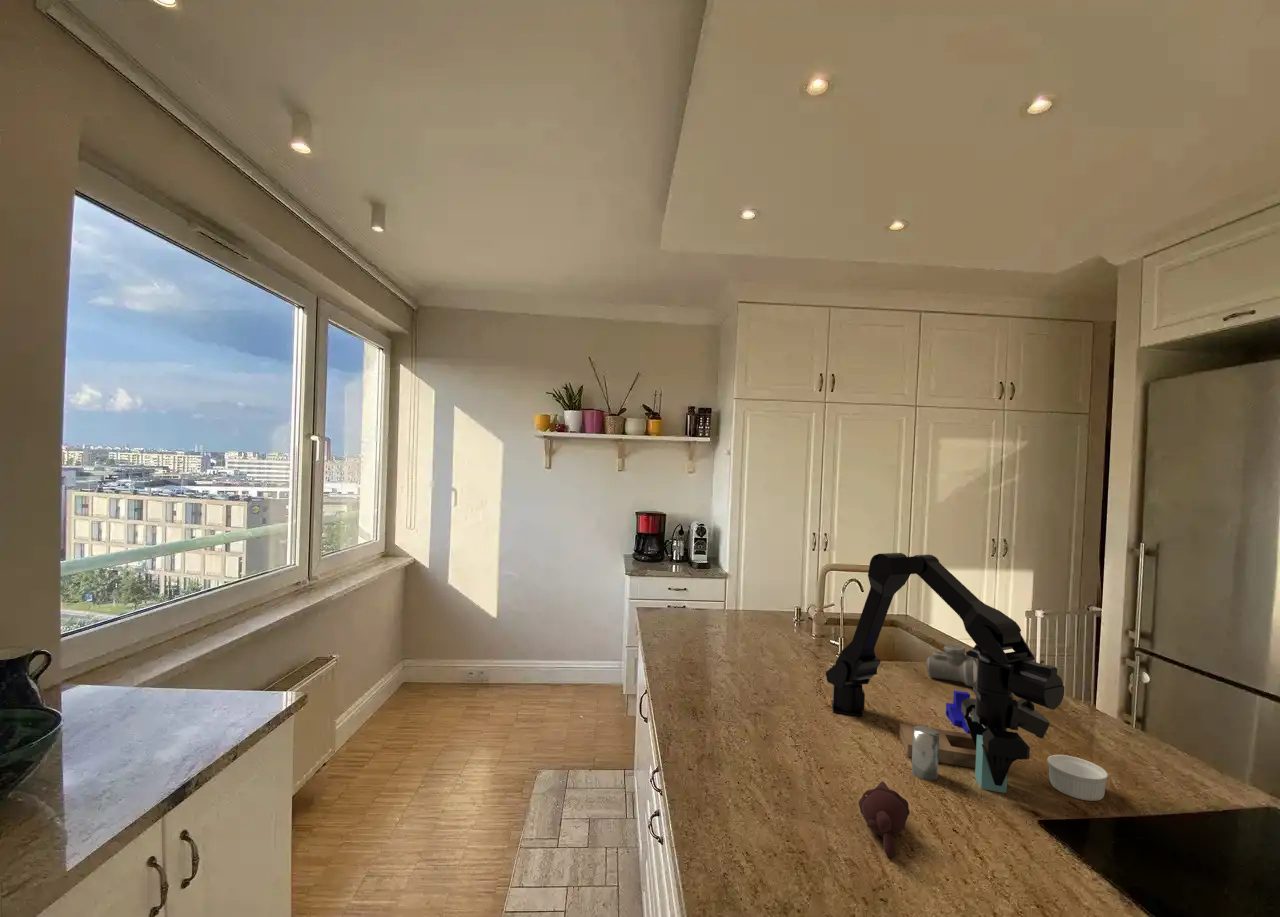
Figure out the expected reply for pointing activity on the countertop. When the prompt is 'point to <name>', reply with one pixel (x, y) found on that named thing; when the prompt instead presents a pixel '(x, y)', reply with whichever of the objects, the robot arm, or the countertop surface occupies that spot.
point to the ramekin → (1077, 777)
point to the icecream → (885, 814)
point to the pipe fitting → (953, 665)
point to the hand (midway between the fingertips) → (990, 773)
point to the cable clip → (957, 710)
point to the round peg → (925, 753)
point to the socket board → (945, 746)
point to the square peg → (985, 770)
